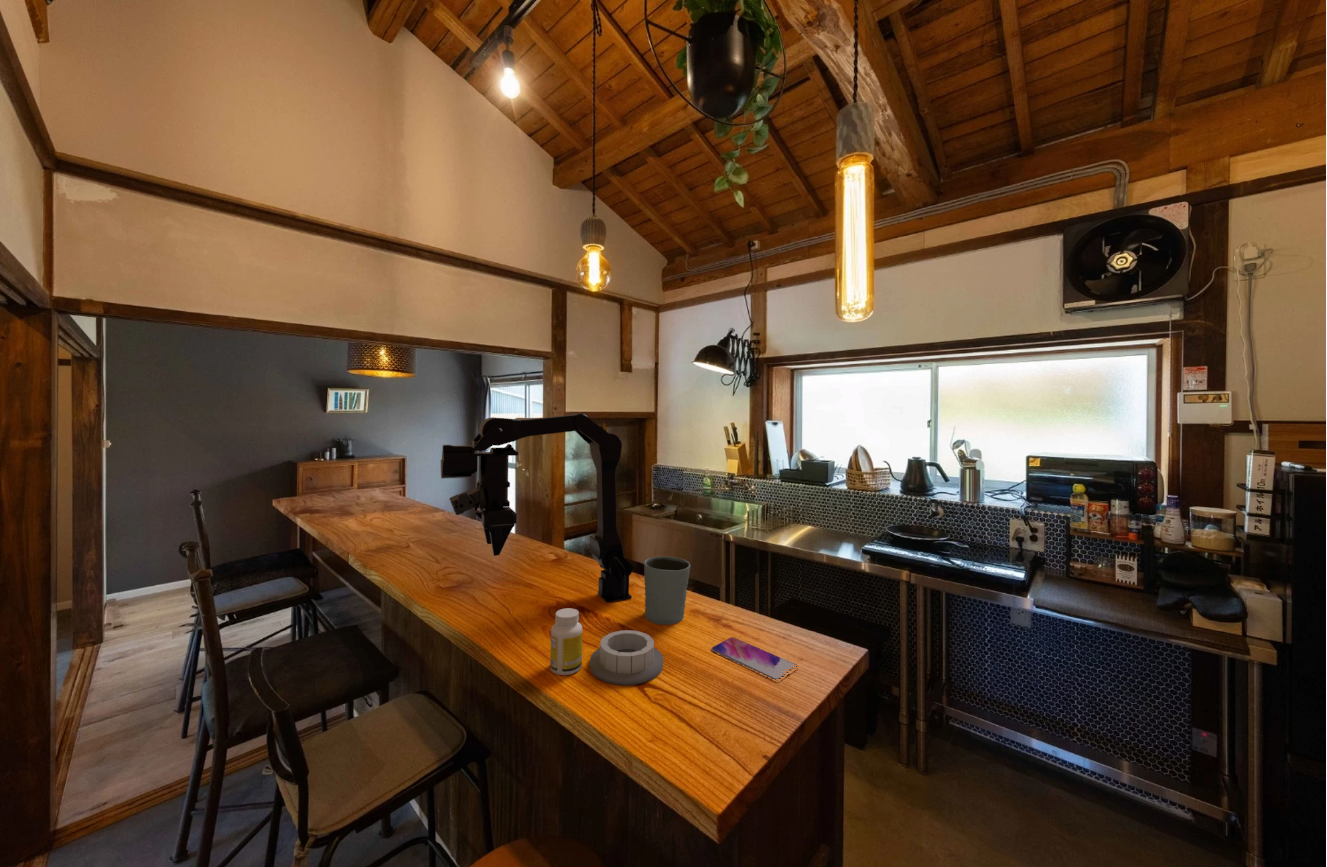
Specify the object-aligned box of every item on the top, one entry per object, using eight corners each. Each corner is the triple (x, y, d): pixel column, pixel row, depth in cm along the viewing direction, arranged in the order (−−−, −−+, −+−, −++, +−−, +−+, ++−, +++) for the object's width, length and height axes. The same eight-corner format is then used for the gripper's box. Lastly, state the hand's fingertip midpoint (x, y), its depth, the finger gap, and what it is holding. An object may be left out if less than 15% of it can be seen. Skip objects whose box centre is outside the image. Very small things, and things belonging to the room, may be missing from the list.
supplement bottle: (586, 662, 86) (588, 608, 85) (573, 678, 80) (574, 621, 80) (559, 657, 87) (560, 604, 87) (544, 673, 82) (545, 616, 82)
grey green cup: (635, 611, 108) (636, 558, 108) (674, 604, 113) (676, 553, 113) (655, 630, 99) (656, 572, 99) (697, 621, 104) (698, 566, 104)
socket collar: (643, 641, 94) (644, 621, 94) (676, 674, 83) (677, 651, 83) (579, 655, 88) (580, 634, 88) (605, 693, 77) (606, 668, 77)
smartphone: (778, 681, 81) (709, 648, 92) (777, 686, 81) (709, 652, 92) (799, 665, 86) (732, 635, 97) (799, 670, 86) (732, 640, 97)
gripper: (449, 472, 106) (448, 542, 107) (456, 485, 90) (455, 567, 90) (501, 470, 111) (500, 537, 112) (517, 482, 95) (516, 560, 96)
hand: (492, 549), depth 103 cm, fingers open, 9 cm apart
